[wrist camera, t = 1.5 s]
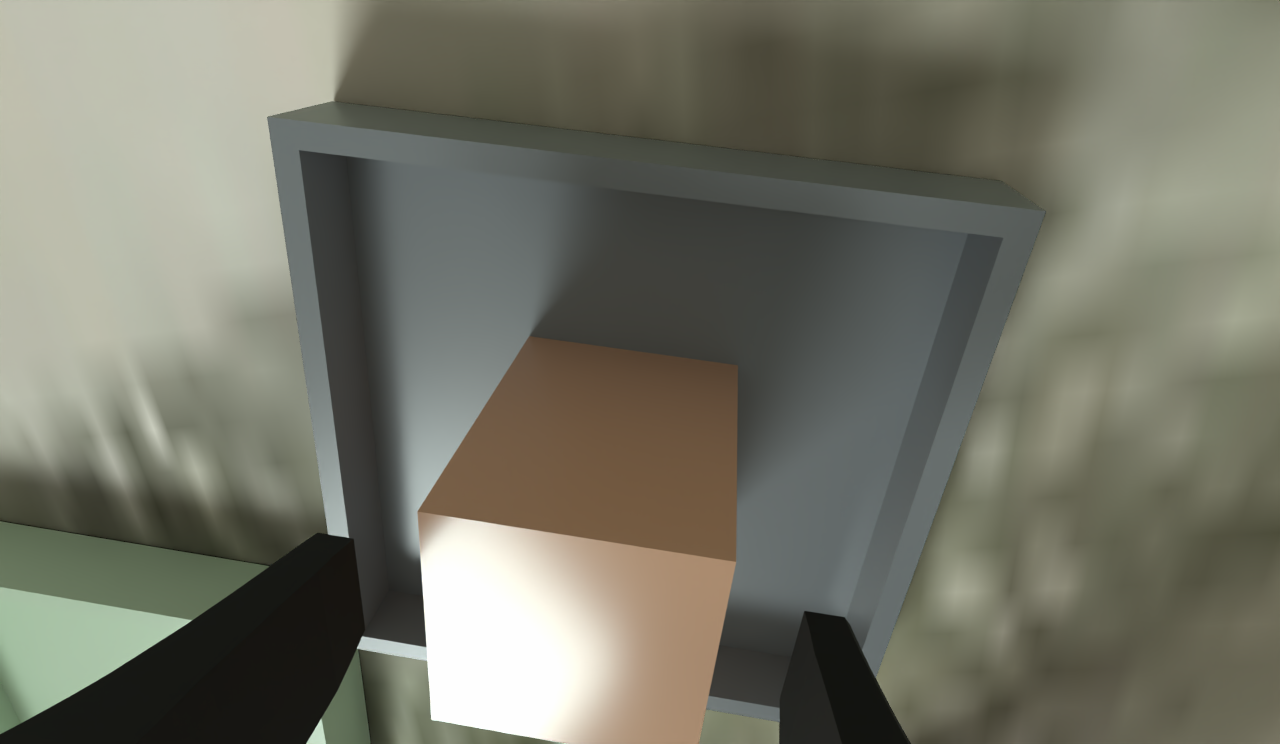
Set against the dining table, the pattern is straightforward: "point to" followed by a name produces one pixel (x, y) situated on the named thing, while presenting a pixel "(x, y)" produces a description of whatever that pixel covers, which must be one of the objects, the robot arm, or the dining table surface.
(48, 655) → the green tray
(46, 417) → the dining table surface
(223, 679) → the robot arm
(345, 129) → the charcoal tray
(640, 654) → the terracotta block
